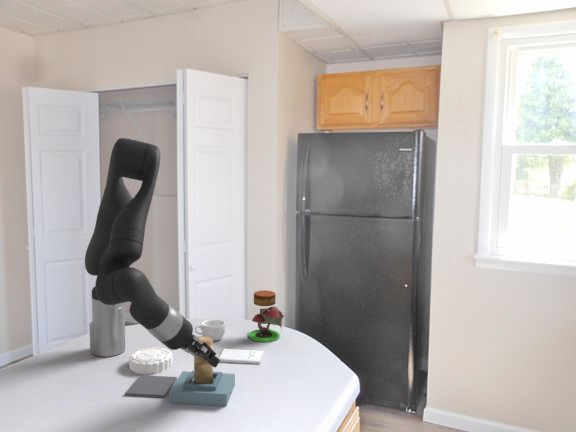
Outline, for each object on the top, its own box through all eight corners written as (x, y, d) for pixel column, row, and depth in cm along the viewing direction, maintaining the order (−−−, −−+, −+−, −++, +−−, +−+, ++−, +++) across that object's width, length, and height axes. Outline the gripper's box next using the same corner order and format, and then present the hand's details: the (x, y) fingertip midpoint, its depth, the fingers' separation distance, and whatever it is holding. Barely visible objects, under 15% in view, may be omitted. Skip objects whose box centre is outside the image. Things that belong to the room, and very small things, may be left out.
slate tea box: (169, 402, 113) (169, 387, 113) (182, 382, 124) (182, 367, 124) (226, 406, 112) (226, 390, 112) (234, 384, 123) (235, 370, 123)
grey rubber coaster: (125, 395, 117) (125, 393, 117) (140, 377, 127) (140, 375, 127) (164, 397, 116) (164, 395, 116) (177, 379, 126) (176, 377, 126)
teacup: (225, 334, 160) (225, 318, 159) (225, 342, 152) (225, 326, 152) (195, 335, 159) (195, 319, 158) (194, 343, 151) (194, 327, 150)
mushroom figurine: (271, 346, 150) (271, 300, 148) (239, 338, 157) (240, 294, 155) (290, 335, 160) (291, 292, 158) (260, 327, 167) (261, 286, 165)
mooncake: (181, 365, 135) (181, 353, 135) (143, 379, 126) (143, 366, 126) (158, 353, 143) (158, 342, 143) (121, 365, 134) (121, 353, 134)
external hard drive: (224, 353, 146) (264, 355, 144) (218, 364, 137) (260, 366, 136) (224, 348, 145) (264, 350, 144) (218, 358, 137) (260, 360, 136)
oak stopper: (192, 385, 116) (191, 343, 115) (196, 377, 121) (196, 336, 119) (210, 386, 116) (210, 343, 114) (214, 378, 120) (214, 337, 119)
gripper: (196, 319, 106) (236, 355, 116) (160, 305, 115) (200, 339, 125) (177, 348, 102) (219, 382, 112) (141, 332, 112) (183, 365, 122)
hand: (209, 360), depth 119 cm, fingers open, 5 cm apart
